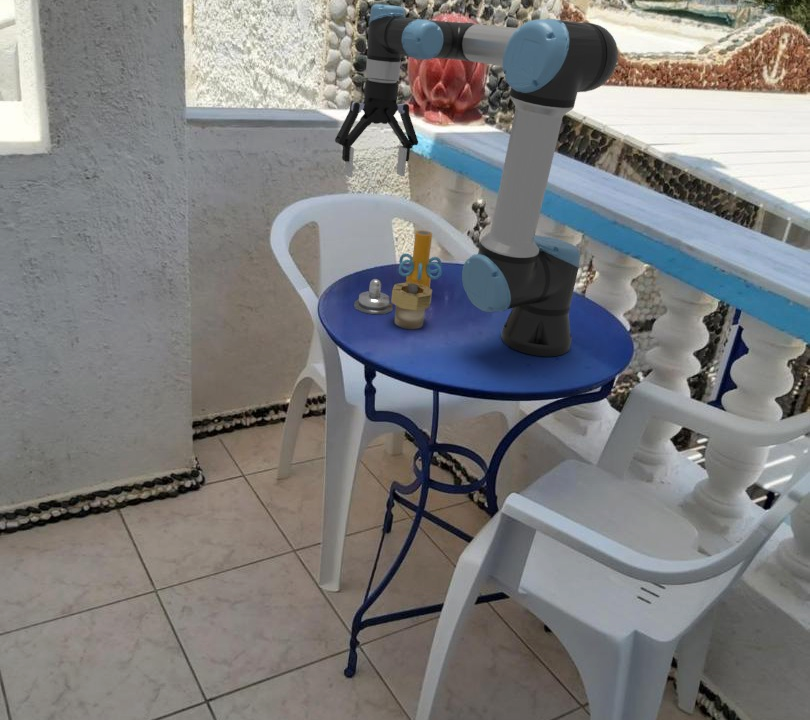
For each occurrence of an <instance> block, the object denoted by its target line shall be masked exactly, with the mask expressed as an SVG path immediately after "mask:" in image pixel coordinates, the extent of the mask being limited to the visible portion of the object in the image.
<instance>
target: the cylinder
mask: <svg viewBox="0 0 810 720" xmlns="http://www.w3.org/2000/svg"><path fill="white" fill-rule="evenodd" d="M432 239H433V233H432V232H431V231H428V230H423V229H421V230H416V231H415V233H414V243H413V253H412V255H411V254H410V253H402V254H401V255H400V257H399V260H398V261H399V266H398V272H399V273H398V274H399V275H400V276H402V277H406V278H405V280H406V281H405V282H410V283H416V284H423V285H425V286H426V287H428V288H430V289H431V281H432V280H438V279H440V277H441V275H442V260H441V258H439V256H432V257H431V256H430V255H431V247H432V246H431V245H432ZM405 257H407V258H408V259H404V258H405ZM435 261H437V262H435ZM406 263H408V264H410V266H405V264H406ZM431 266H435V269H431ZM402 269H403V270H404V271H407V272H406V273H405V272H403V270H402ZM437 272H438V273H437ZM435 273H437V275H432V274H435Z"/></svg>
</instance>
